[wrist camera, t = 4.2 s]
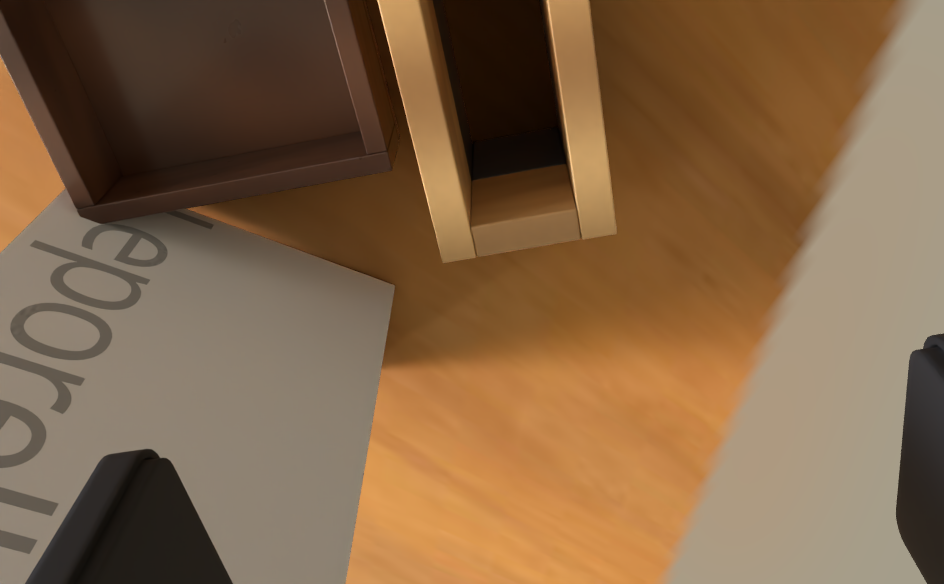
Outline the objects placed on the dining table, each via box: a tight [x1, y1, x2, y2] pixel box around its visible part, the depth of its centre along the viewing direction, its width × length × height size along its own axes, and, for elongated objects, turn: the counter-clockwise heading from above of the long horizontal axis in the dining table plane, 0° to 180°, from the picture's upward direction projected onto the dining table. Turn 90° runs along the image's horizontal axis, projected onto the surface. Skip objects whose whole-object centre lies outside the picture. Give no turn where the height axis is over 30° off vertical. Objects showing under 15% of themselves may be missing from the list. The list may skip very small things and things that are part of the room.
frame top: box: [377, 0, 617, 263], centre depth 26 cm, size 12×6×4 cm, turn 11°
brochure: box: [0, 189, 395, 584], centre depth 25 cm, size 14×6×30 cm, turn 66°
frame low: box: [433, 0, 567, 181], centre depth 30 cm, size 12×6×4 cm, turn 11°
